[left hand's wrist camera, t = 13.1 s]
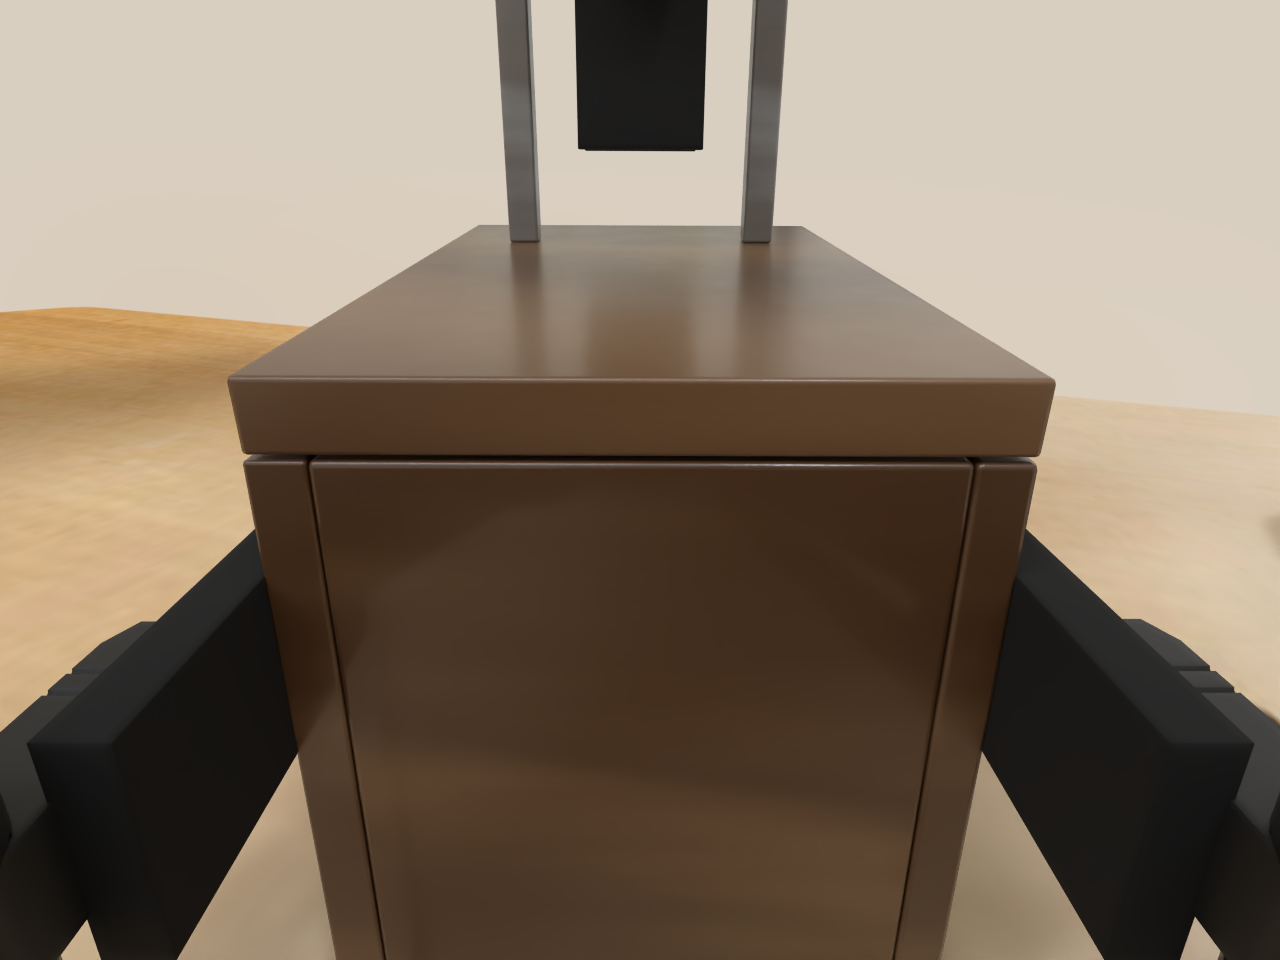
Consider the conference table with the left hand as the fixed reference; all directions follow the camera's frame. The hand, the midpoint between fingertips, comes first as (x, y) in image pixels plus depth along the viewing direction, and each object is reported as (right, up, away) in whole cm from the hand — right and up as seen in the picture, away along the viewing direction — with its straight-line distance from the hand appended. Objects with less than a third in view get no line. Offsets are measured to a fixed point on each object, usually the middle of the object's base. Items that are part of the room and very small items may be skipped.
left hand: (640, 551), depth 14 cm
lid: (0, +5, +3) cm, 5 cm away
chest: (0, -5, +6) cm, 8 cm away
